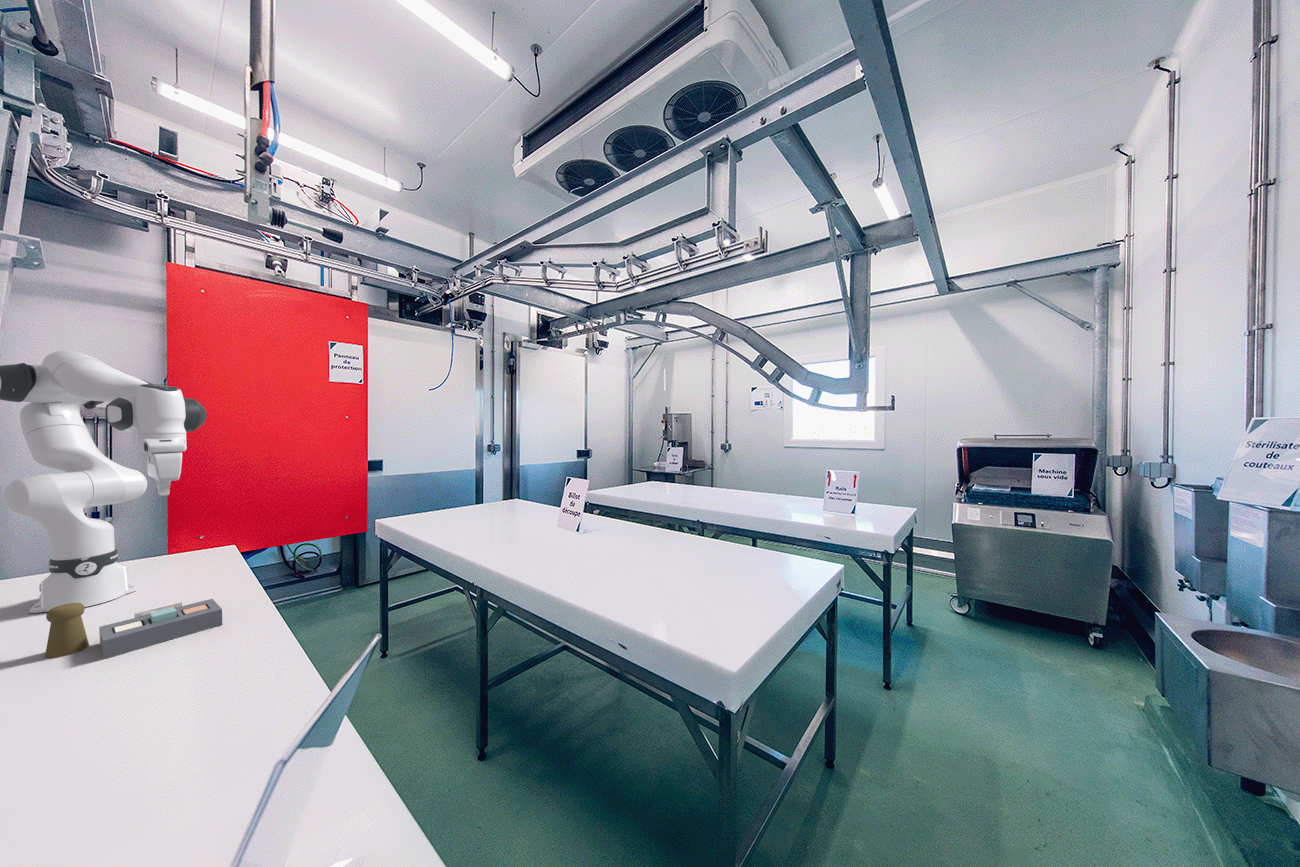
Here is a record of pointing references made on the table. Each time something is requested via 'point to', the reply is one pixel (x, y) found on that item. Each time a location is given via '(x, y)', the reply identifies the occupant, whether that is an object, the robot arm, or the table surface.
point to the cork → (66, 630)
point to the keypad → (158, 628)
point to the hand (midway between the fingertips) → (163, 494)
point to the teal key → (162, 615)
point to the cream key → (127, 627)
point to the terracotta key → (194, 609)
